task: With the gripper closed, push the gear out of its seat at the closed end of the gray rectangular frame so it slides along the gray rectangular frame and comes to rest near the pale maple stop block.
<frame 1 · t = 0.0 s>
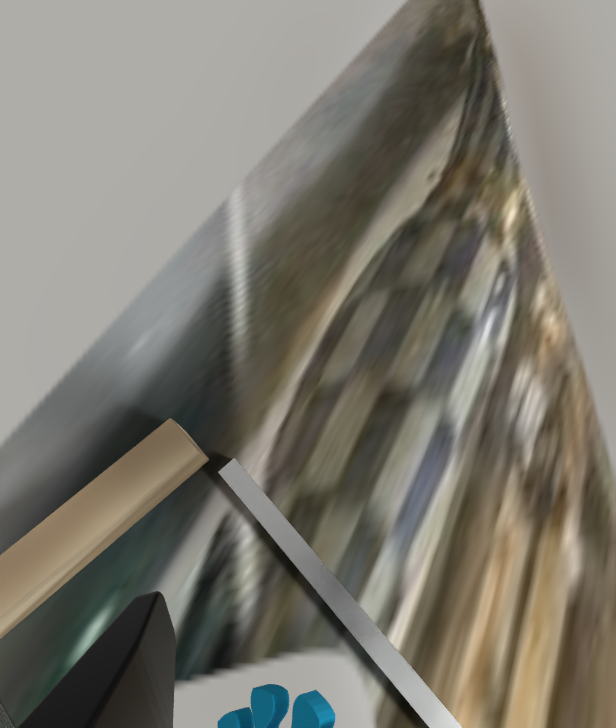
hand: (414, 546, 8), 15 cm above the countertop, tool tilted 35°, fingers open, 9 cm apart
stop block: (88, 536, 22), on the countertop
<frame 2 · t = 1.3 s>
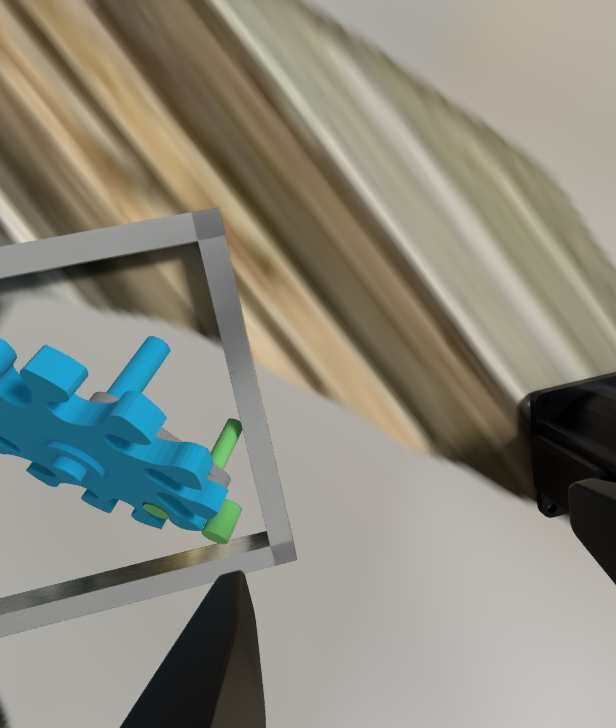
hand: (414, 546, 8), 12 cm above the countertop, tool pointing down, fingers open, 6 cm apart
gear: (127, 417, 19), on the countertop
gray rectangular frame: (50, 439, 19), on the countertop
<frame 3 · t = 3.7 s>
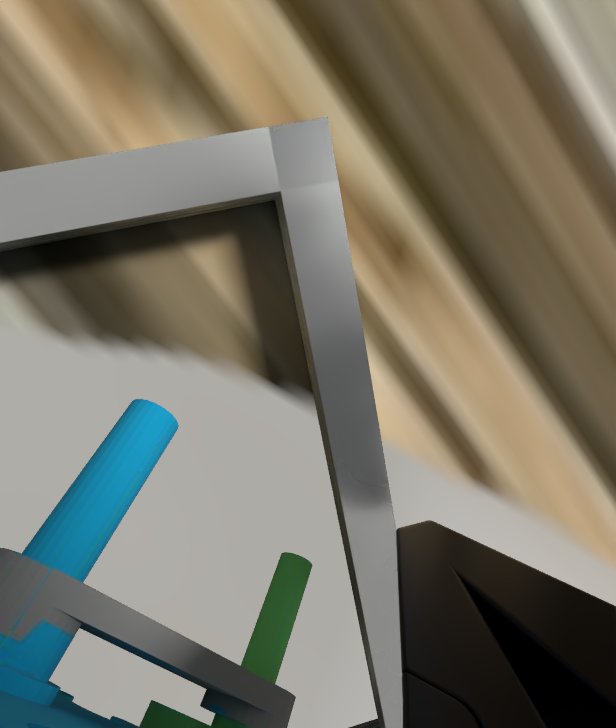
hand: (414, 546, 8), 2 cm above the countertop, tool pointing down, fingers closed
gear: (88, 546, 10), on the countertop, touching gripper
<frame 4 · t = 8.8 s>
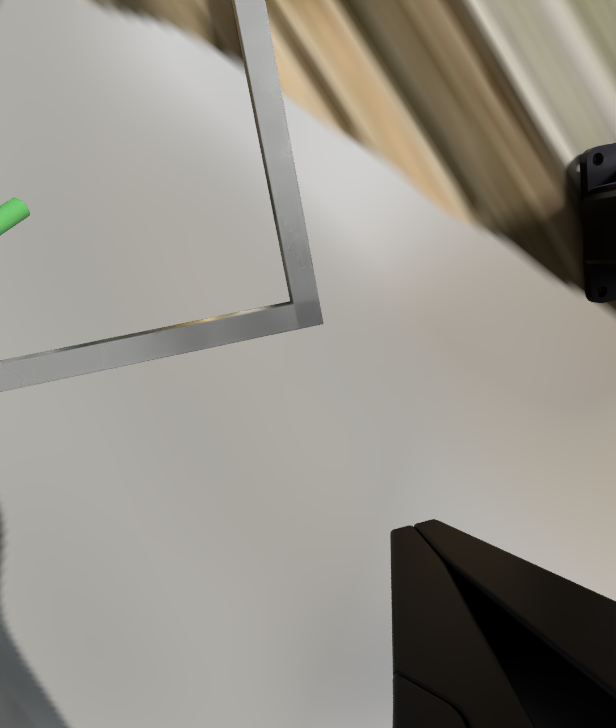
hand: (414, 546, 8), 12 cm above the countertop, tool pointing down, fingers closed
gray rectangular frame: (48, 166, 17), on the countertop
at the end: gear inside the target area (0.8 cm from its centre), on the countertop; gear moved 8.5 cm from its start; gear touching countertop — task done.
